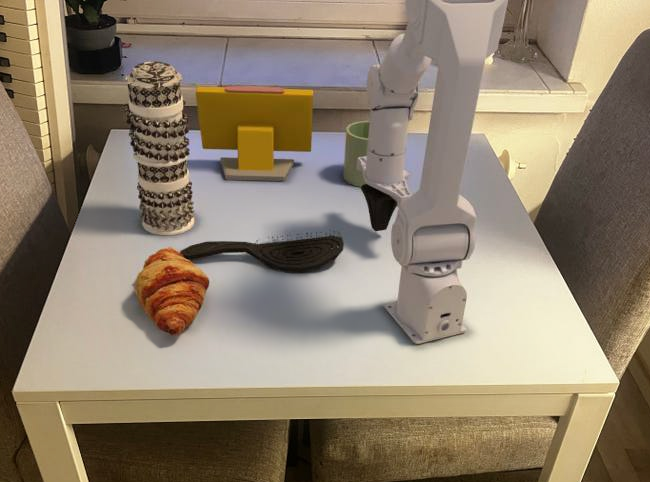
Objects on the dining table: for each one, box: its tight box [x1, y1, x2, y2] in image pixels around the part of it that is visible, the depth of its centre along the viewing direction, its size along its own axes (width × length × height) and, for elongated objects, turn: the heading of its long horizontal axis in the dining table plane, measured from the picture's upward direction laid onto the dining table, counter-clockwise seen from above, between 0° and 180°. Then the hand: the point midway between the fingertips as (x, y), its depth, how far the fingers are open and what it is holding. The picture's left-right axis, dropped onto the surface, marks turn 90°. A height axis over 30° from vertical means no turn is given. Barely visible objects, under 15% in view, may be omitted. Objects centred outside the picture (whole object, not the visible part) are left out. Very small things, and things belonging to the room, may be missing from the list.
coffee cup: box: [343, 120, 370, 188], centre depth 138 cm, size 8×8×9 cm
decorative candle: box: [124, 61, 195, 236], centre depth 117 cm, size 9×9×25 cm
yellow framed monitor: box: [195, 85, 314, 182], centre depth 136 cm, size 20×8×16 cm, turn 91°
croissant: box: [134, 246, 210, 336], centre depth 106 cm, size 21×10×8 cm, turn 12°
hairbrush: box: [179, 229, 345, 273], centre depth 116 cm, size 8×4×25 cm
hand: (379, 228), depth 123 cm, fingers closed
